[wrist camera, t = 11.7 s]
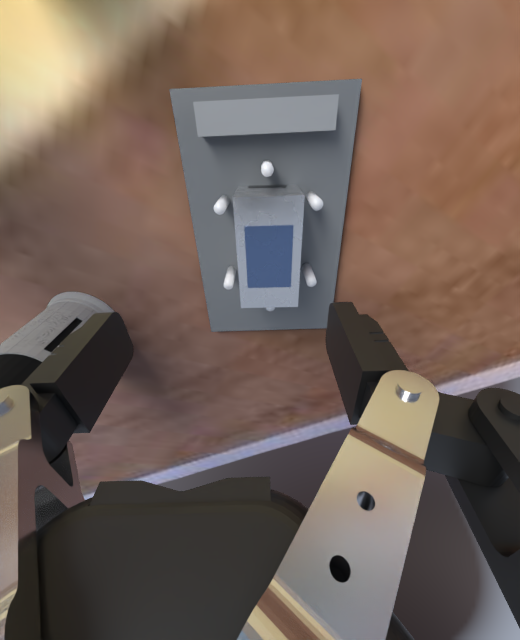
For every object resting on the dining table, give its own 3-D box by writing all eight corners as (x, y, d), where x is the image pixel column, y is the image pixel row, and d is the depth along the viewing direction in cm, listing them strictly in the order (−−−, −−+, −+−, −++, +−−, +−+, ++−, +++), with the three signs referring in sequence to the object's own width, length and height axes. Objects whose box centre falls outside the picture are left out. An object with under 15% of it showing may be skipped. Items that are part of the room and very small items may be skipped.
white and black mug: (30, 309, 32) (-120, 418, 19) (122, 258, 28) (11, 351, 16) (87, 359, 36) (-6, 475, 24) (173, 320, 32) (117, 432, 20)
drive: (238, 185, 23) (232, 196, 19) (296, 183, 23) (304, 194, 18) (244, 281, 28) (240, 308, 24) (292, 279, 28) (298, 307, 23)
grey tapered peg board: (173, 91, 21) (153, 79, 17) (357, 81, 20) (379, 67, 16) (212, 325, 33) (206, 350, 29) (327, 322, 32) (337, 347, 29)
